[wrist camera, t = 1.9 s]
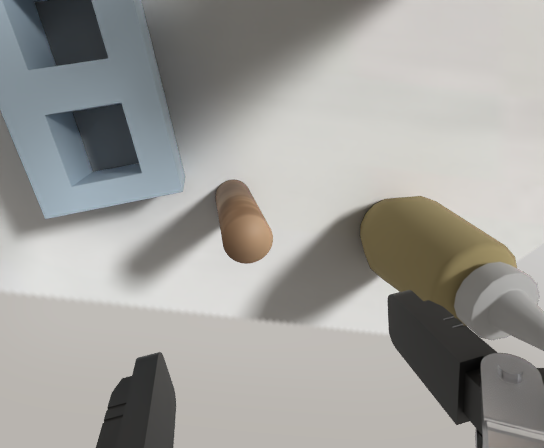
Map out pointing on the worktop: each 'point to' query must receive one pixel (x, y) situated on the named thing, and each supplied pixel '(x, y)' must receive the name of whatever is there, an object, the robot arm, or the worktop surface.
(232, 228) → the dowel
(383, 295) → the worktop surface
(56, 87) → the socket block
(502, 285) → the squeeze bottle
